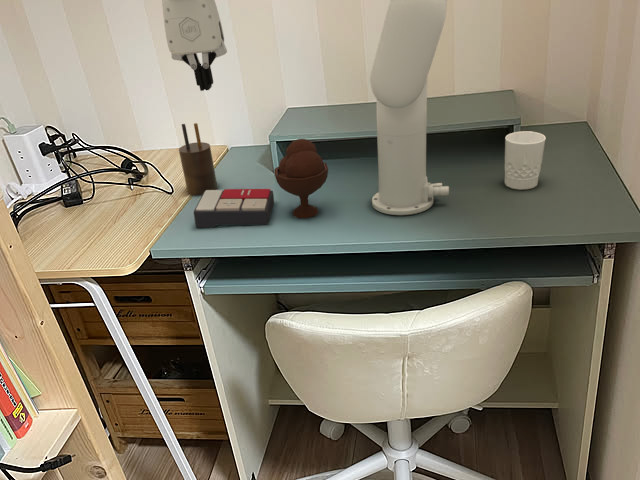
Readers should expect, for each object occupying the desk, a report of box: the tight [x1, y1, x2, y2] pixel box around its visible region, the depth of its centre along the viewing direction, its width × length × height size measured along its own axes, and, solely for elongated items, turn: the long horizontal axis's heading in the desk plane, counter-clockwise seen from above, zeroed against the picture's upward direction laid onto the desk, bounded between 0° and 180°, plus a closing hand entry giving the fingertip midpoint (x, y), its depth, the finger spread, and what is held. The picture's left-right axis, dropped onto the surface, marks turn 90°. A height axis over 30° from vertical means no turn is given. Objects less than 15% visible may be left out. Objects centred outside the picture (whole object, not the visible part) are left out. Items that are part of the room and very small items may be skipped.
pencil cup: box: [178, 122, 218, 196], centre depth 145 cm, size 7×7×16 cm
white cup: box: [504, 130, 547, 191], centre depth 134 cm, size 8×8×10 cm
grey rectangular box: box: [193, 188, 275, 229], centre depth 134 cm, size 11×4×15 cm
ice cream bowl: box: [274, 138, 329, 219], centre depth 129 cm, size 11×11×15 cm
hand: (206, 88), depth 127 cm, fingers closed
